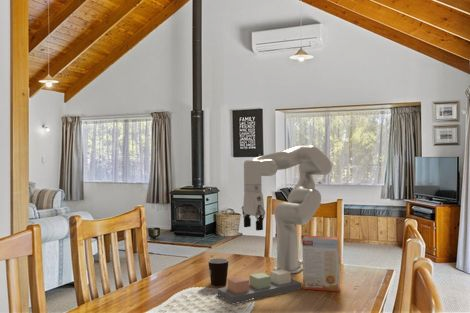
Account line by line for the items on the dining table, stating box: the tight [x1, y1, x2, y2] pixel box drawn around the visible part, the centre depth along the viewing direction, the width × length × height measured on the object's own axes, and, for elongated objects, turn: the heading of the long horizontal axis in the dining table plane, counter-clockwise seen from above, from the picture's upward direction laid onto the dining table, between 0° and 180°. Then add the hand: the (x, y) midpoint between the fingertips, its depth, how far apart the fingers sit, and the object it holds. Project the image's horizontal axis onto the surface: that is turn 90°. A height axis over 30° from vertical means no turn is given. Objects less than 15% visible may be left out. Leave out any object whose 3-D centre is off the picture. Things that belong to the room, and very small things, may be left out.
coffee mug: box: [207, 257, 229, 288], centre depth 185 cm, size 12×9×10 cm
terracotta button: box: [227, 276, 250, 294], centre depth 167 cm, size 6×6×5 cm
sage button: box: [249, 272, 271, 289], centre depth 173 cm, size 6×6×5 cm
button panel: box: [216, 278, 302, 304], centre depth 173 cm, size 32×12×2 cm, turn 120°
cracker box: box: [301, 235, 340, 293], centre depth 175 cm, size 14×6×21 cm, turn 71°
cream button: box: [269, 269, 292, 285], centre depth 178 cm, size 6×6×5 cm
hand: (253, 228), depth 187 cm, fingers open, 9 cm apart
